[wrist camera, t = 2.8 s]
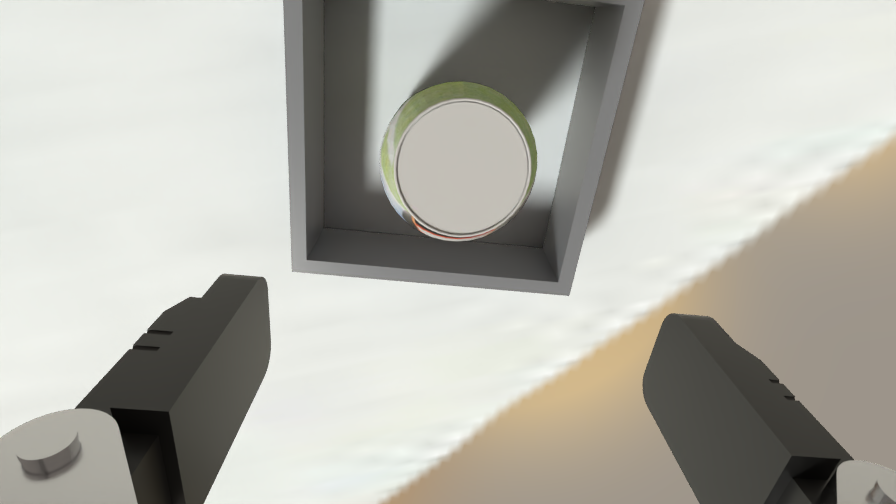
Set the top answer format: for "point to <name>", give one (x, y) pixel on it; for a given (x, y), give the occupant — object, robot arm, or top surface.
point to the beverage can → (458, 161)
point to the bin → (431, 256)
